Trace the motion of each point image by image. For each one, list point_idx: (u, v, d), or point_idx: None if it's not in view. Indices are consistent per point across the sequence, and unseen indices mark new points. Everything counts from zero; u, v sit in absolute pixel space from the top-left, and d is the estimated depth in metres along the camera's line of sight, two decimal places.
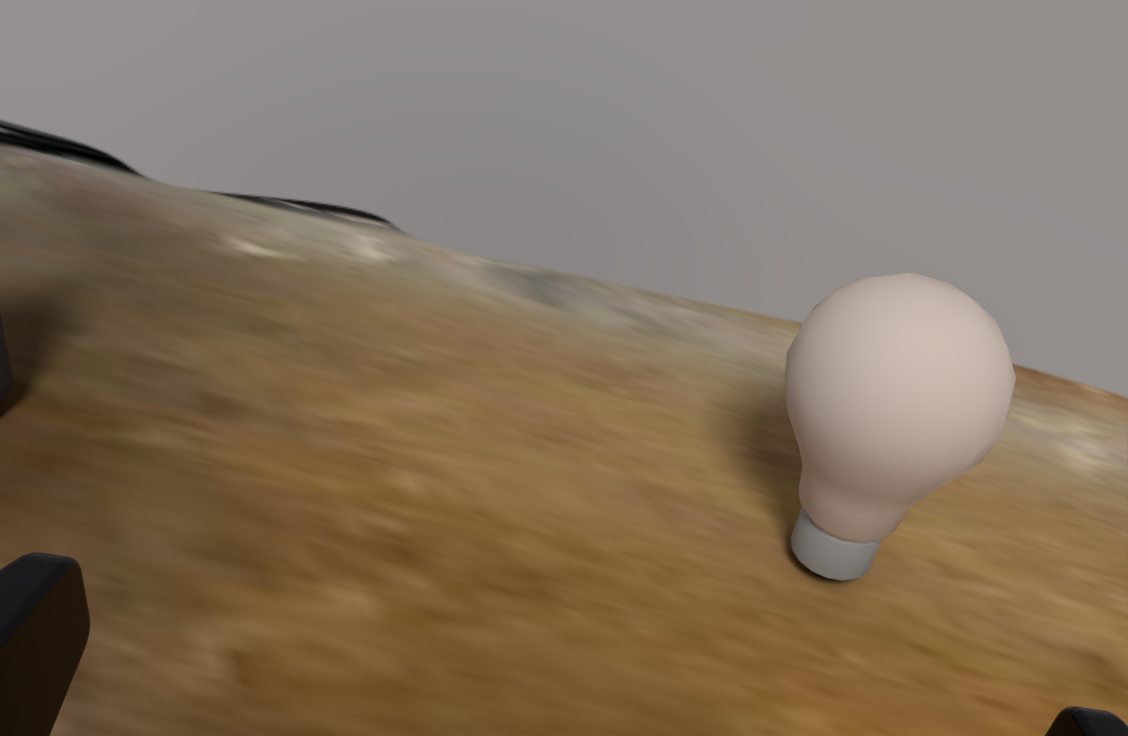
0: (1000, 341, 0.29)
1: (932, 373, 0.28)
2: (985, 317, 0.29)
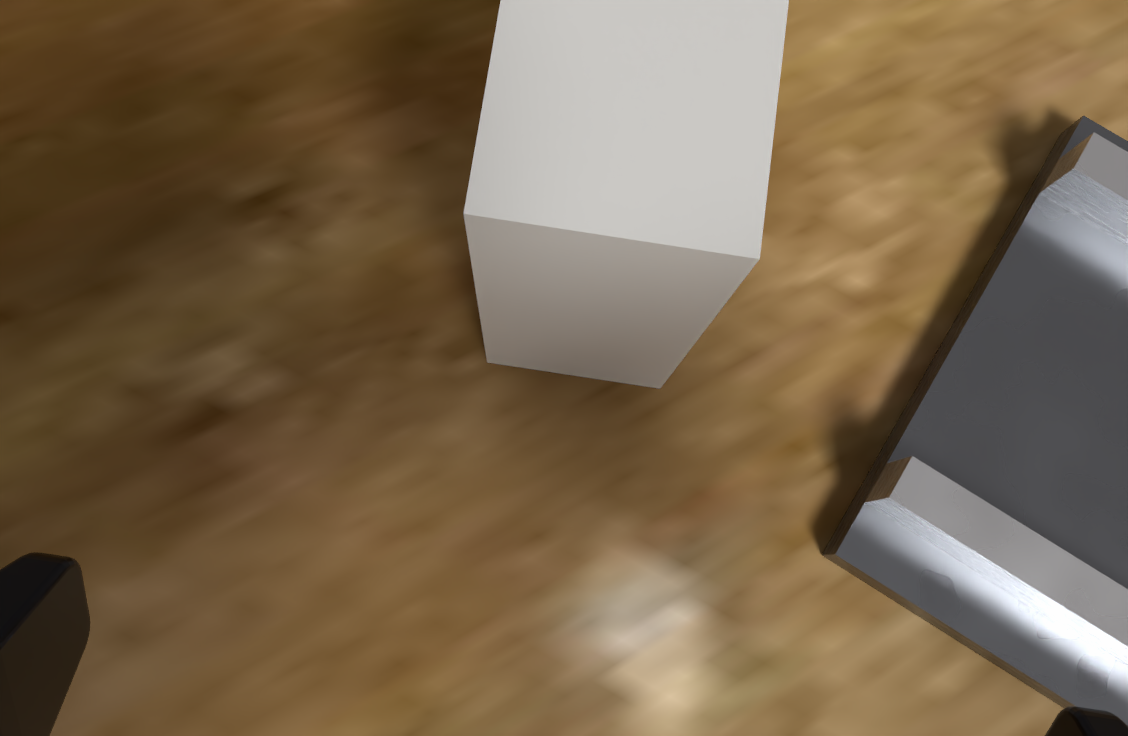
0: None
1: None
2: None
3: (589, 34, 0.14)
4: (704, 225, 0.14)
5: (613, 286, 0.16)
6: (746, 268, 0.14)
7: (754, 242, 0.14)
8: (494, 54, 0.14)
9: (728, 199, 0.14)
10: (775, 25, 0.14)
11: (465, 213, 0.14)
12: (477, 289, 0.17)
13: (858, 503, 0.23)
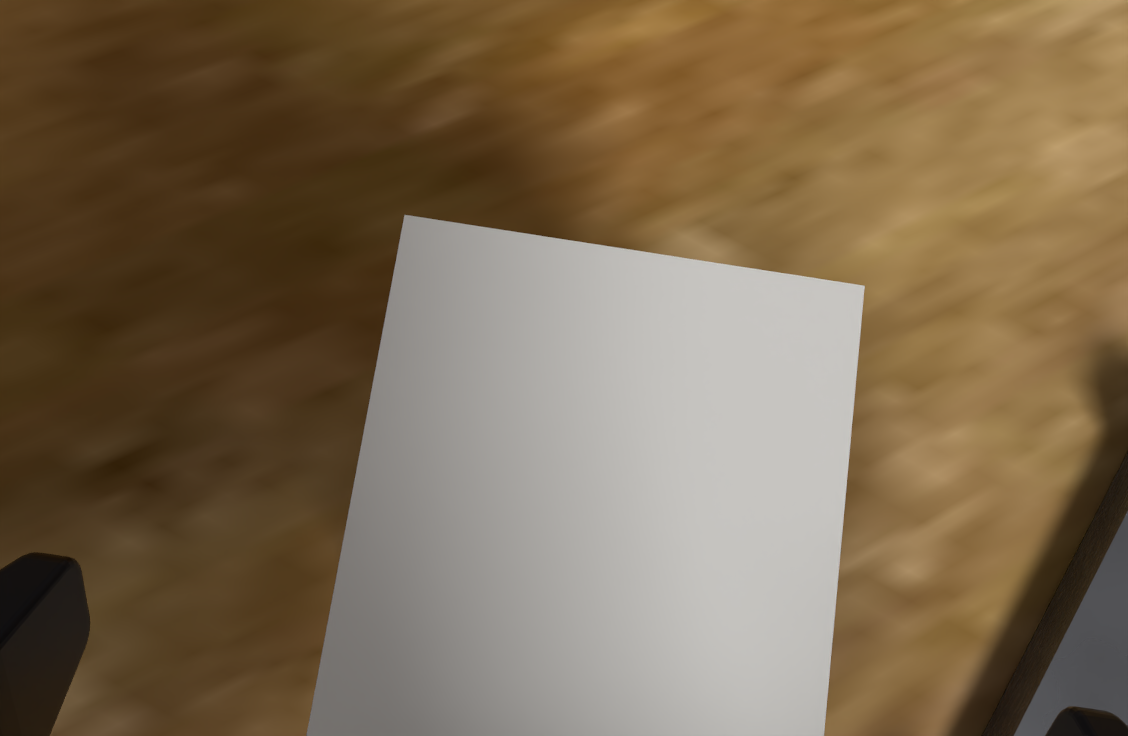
0: None
1: None
2: None
3: (516, 485, 0.08)
4: None
5: None
6: None
7: None
8: (350, 528, 0.08)
9: None
10: (830, 463, 0.09)
11: None
12: None
13: None
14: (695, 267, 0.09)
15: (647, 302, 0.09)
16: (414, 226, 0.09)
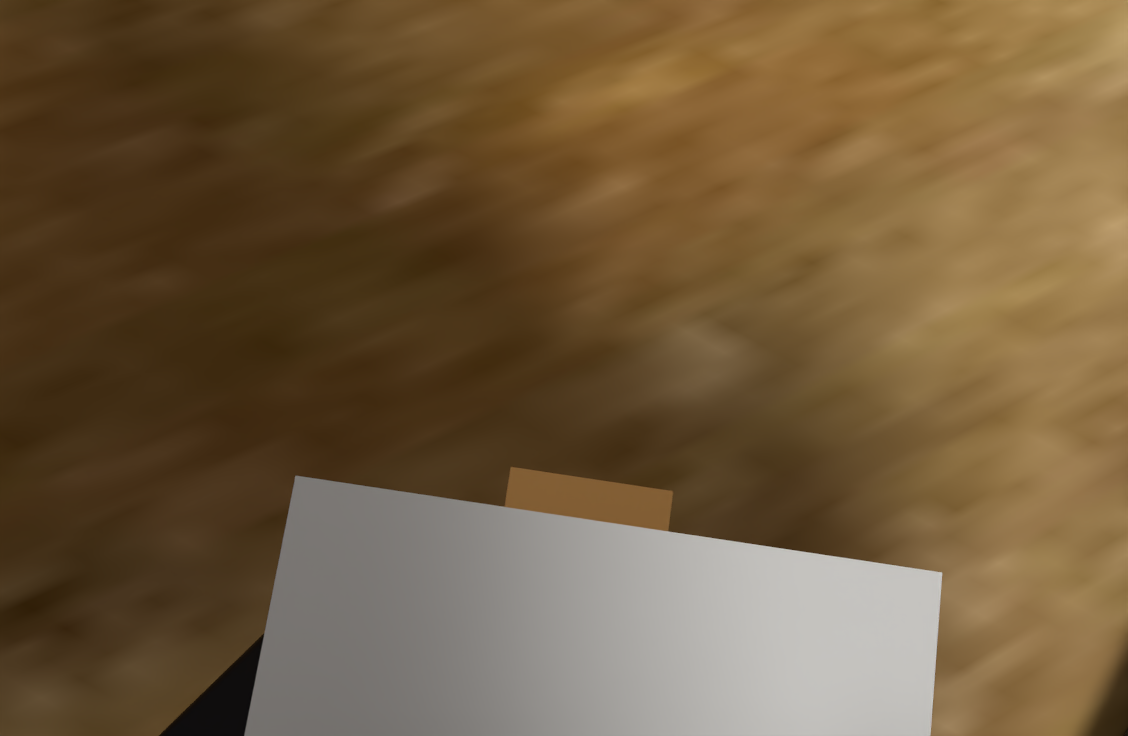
0: None
1: None
2: None
3: None
4: None
5: None
6: None
7: None
8: None
9: None
10: None
11: None
12: None
13: None
14: (704, 547, 0.06)
15: (637, 601, 0.06)
16: (308, 493, 0.06)
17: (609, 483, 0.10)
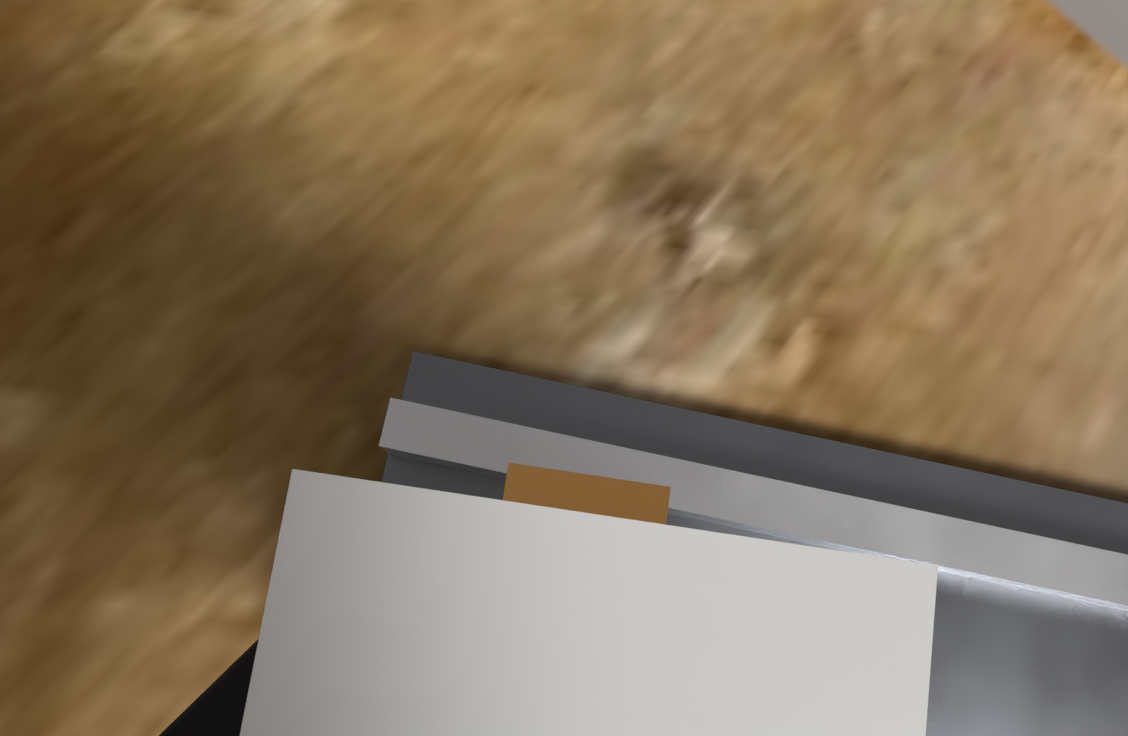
0: None
1: None
2: None
3: None
4: None
5: None
6: None
7: None
8: None
9: None
10: None
11: None
12: None
13: None
14: (700, 540, 0.06)
15: (633, 594, 0.06)
16: (305, 486, 0.06)
17: (607, 479, 0.10)
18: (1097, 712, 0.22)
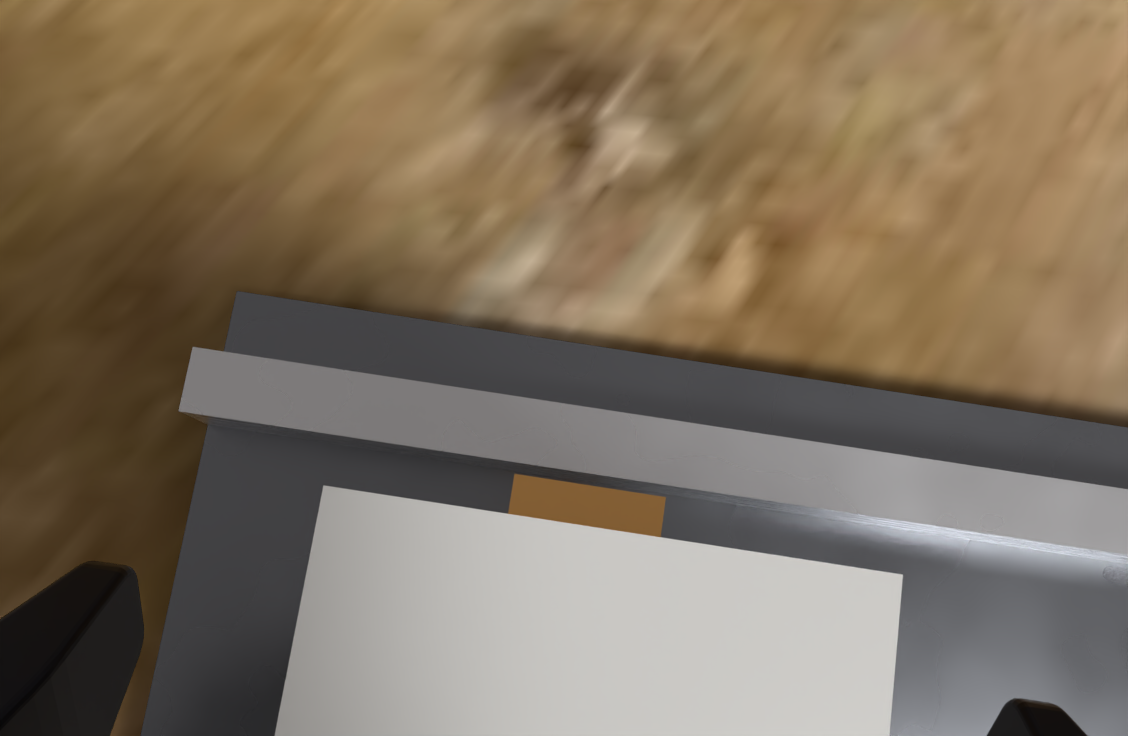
0: None
1: None
2: None
3: None
4: None
5: None
6: None
7: None
8: None
9: None
10: None
11: None
12: None
13: None
14: (690, 551, 0.07)
15: (629, 599, 0.07)
16: (335, 501, 0.07)
17: (606, 489, 0.11)
18: None
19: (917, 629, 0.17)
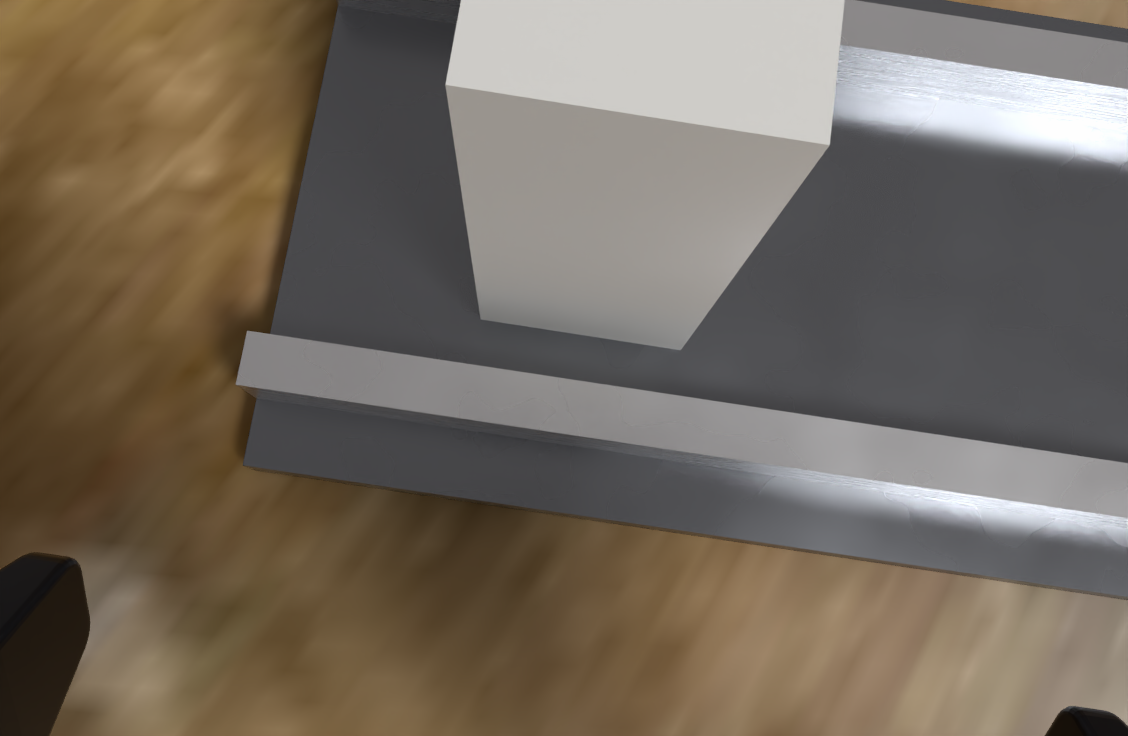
0: None
1: None
2: None
3: None
4: (756, 101, 0.11)
5: (635, 199, 0.13)
6: (809, 161, 0.11)
7: (822, 124, 0.11)
8: None
9: (788, 69, 0.11)
10: None
11: (448, 84, 0.11)
12: (466, 210, 0.14)
13: None
14: None
15: None
16: None
17: None
18: (1075, 219, 0.21)
19: (898, 162, 0.21)
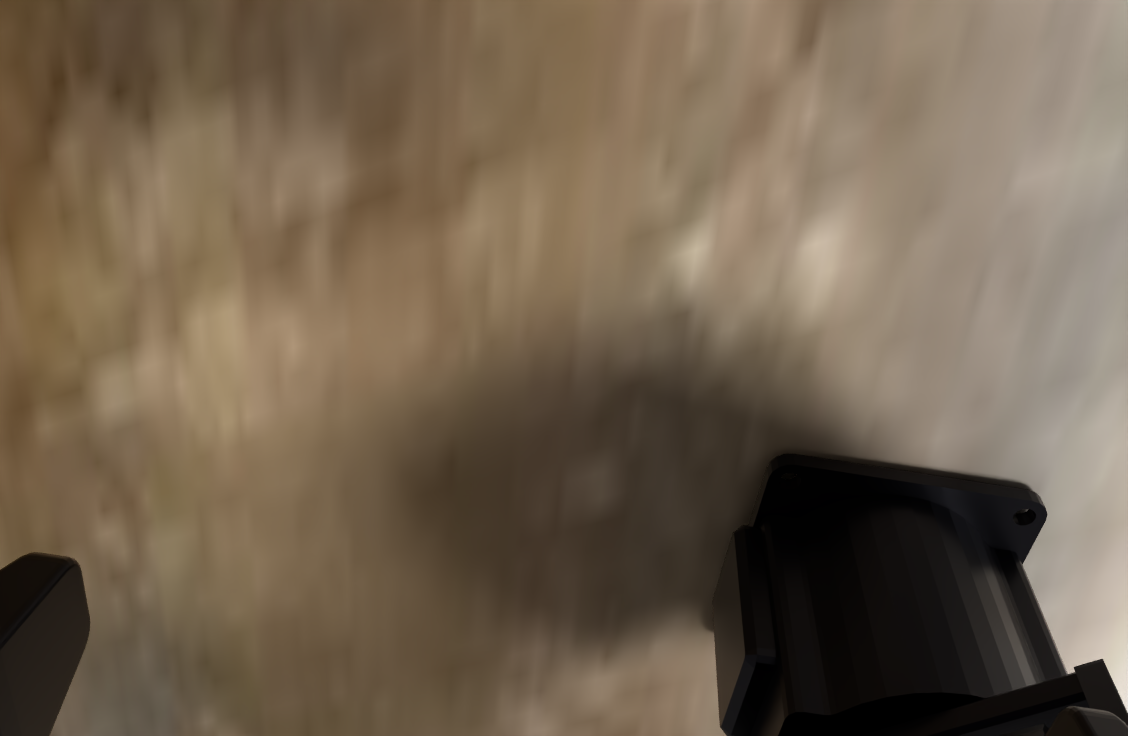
0: None
1: None
2: None
3: None
4: None
5: None
6: None
7: None
8: None
9: None
10: None
11: None
12: None
13: None
14: None
15: None
16: None
17: None
18: None
19: None
